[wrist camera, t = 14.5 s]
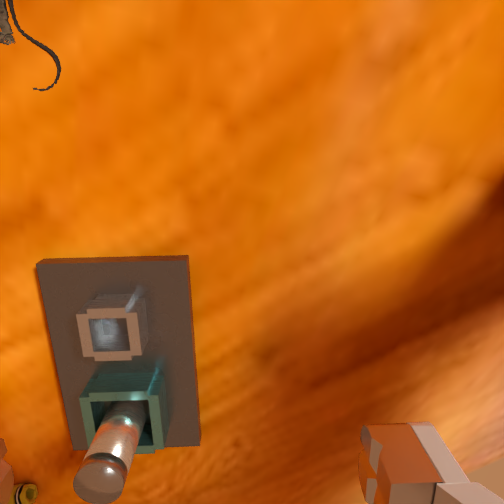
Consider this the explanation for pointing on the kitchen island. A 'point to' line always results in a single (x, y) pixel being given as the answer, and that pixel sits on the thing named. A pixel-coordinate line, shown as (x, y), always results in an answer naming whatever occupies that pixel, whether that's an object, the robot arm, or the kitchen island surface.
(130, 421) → the fitting
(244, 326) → the kitchen island surface
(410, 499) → the robot arm
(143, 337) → the manifold plate
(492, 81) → the kitchen island surface
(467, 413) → the kitchen island surface
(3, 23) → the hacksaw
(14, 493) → the sprinkler
